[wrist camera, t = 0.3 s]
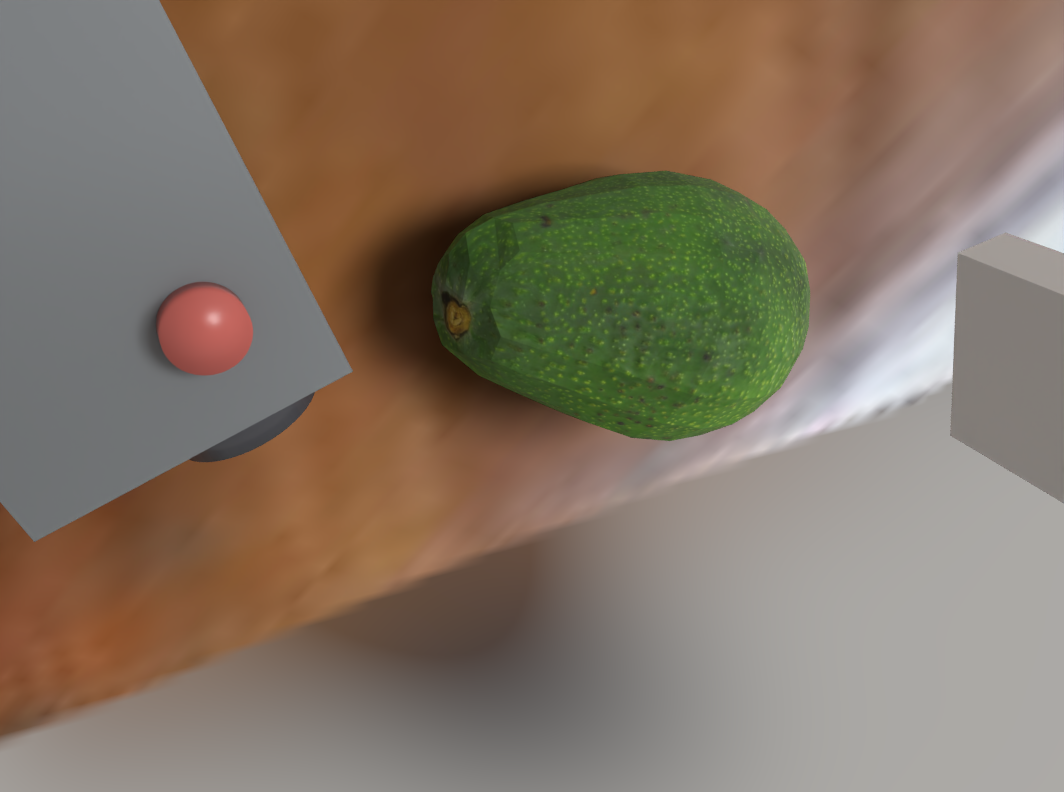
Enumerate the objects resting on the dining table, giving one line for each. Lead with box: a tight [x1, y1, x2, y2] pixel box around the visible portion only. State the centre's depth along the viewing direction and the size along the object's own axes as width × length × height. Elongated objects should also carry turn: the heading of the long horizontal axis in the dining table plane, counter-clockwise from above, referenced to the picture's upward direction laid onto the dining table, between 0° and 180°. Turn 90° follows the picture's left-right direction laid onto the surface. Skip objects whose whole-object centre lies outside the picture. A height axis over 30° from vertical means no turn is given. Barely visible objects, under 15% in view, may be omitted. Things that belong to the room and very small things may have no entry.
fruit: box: [431, 171, 810, 441], centre depth 37 cm, size 15×10×10 cm, turn 73°
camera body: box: [0, 0, 353, 542], centre depth 28 cm, size 19×10×9 cm, turn 20°
